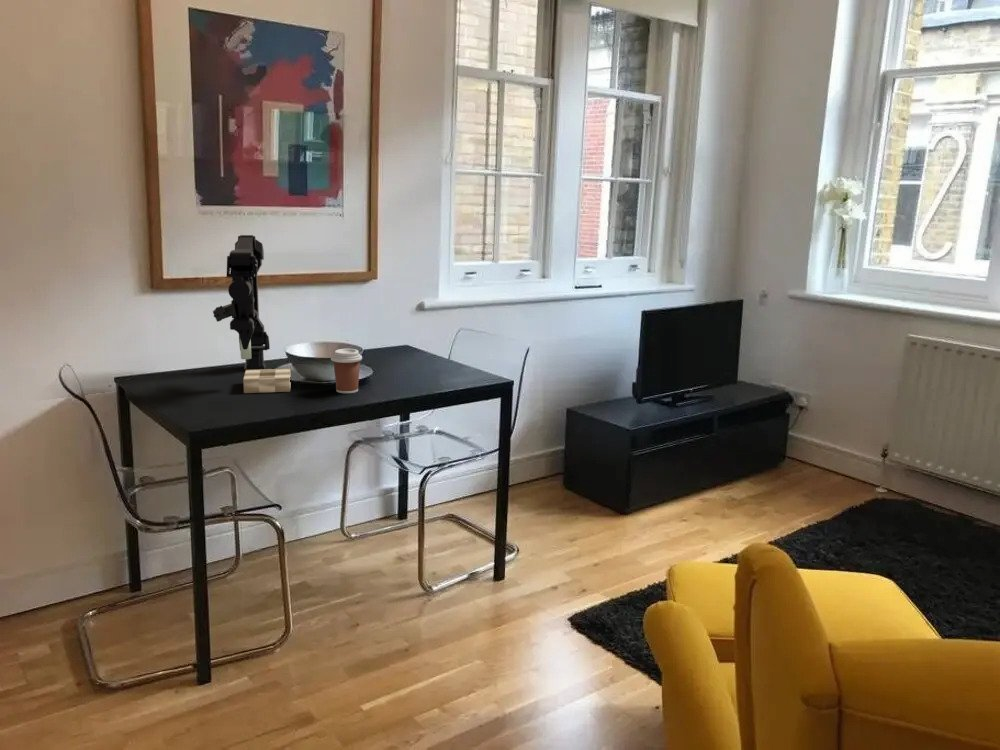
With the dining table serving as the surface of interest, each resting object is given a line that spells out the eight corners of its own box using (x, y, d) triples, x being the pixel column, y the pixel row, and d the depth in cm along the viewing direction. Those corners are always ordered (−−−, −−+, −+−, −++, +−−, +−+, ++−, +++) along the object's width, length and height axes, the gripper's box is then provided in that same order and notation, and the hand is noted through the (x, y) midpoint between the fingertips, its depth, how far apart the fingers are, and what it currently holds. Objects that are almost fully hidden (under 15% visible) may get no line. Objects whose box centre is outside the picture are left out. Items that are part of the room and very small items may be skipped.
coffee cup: (365, 387, 253) (364, 348, 250) (359, 395, 245) (359, 354, 242) (335, 386, 254) (334, 347, 251) (328, 394, 245) (327, 353, 242)
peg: (241, 357, 248) (239, 327, 246) (251, 356, 249) (250, 327, 247) (240, 359, 246) (238, 329, 243) (251, 359, 246) (249, 329, 244)
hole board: (246, 382, 255) (245, 369, 254) (290, 381, 258) (290, 368, 257) (244, 393, 243) (243, 379, 242) (290, 391, 246) (289, 378, 245)
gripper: (218, 290, 250) (221, 342, 254) (209, 300, 232) (212, 355, 236) (256, 290, 252) (259, 341, 256) (251, 300, 235) (254, 355, 238)
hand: (245, 348), depth 247 cm, fingers closed on peg, 3 cm apart
